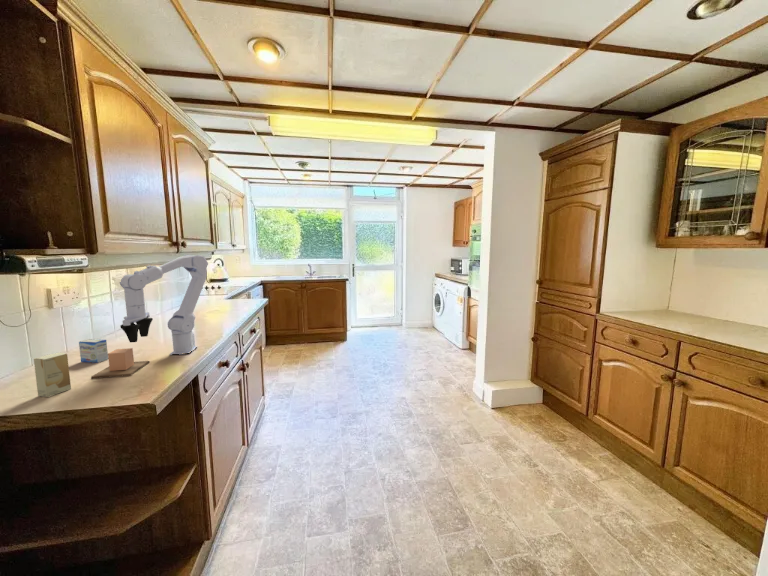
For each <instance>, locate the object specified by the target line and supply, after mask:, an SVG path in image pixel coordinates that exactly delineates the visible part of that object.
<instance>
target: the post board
mask: <svg viewBox="0 0 768 576" xmlns="http://www.w3.org/2000/svg"><path fill="white" fill-rule="evenodd" d="M149 364H150V360H142V361H140V360H139V361H134V365H133V366H131V367H130V368H128V369H127V370H116V371H110V368H109V366H107V367H105V368H104V369H102V370H100V371H99V372H97V373H95V374H93V375H91V376H90V378H91V379H92V380H93V379H105V378H117V377H119V378H121V377H129V376H130V377H131V376H132V375H135V373H137V372H138V371H139V370H141V369H143V368H144V367H146V366H147V365H149Z"/></svg>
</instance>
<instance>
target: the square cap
mask: <svg viewBox="0 0 768 576" xmlns="http://www.w3.org/2000/svg"><path fill="white" fill-rule="evenodd" d="M134 358H135V357H134V349H133V347H130V348H116V349H114V350H113V351H110V352H108V359H107V360H108V367H109V368H110V371H116V370H127V369H128V368H130V367H131V366H133V365H134V362H135V359H134Z"/></svg>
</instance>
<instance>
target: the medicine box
mask: <svg viewBox="0 0 768 576" xmlns="http://www.w3.org/2000/svg"><path fill="white" fill-rule="evenodd" d="M78 347H79V354H80V355H79V357H80V362H81V363H90V362H92V363H94V364H95V363H96V364H98V363H101V362H106V361H107V360H109V359H108V353H109V352H108V343H107V339H101V338H100V339H98V338H97V339H95V338H94V339H93V338H87V339H84V340H80V341H78ZM92 363H91V364H92Z"/></svg>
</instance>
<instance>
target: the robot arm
mask: <svg viewBox="0 0 768 576" xmlns="http://www.w3.org/2000/svg"><path fill="white" fill-rule="evenodd" d="M208 265H209V262H208V261H207V259H206V257H205V256H204V255H202V254H195V255H193V254H184V255H183V256H178V257H177V258H174V259H172V260H170V261H168V262H165V263H163V264H162V265H159V266H156V265H150V264H149V265H147V266H146V268H144V269H140V270H135V271H133V272H134V273H133V274H131V273H129V274H124V275H123V276H122V277H121V280H120V281H119V285H120V287H121V288H123V291H124V292H123V293H124V301H125V302H124V303H125V309H126V316H124V317H123V319H122V324H120V329H122V331H123V332H124V333H125V335H126V336H127V340H128V341H129V343H137V342H138V338H139V335H140V338H141V337H142V338H145V337H148V336H149V332H150V331H149V330H150V326H151V324H152V322H153V318H152V317H150V315H151V314H150V312H147V311H146V303H145V302H146V301H145V295H144V294H145V293H144V289H145V287H146V286H147V285H148V284H151V283H154V282H156V281H158V280H160V279H162V278H163V275H164V274H166V273H169V272H171V271H172V272H173V271H174V270H177V269H179V268H181V267H182V268H184V269H185V271H187V272H188V273H189V274H190V276H191V279H190V281H189V284H188V286H187V288H186V291H185V294H184V296H183V298H182V301H181V304H180V305H179V308H178V310H176V311H175V312H174V313H173V315H172V316H171V317H170V318H169V320H168V321H167V328H168V329H169V330H170V331H171V337H172V341H171V342H172V349H173V350H172V351H171V352H170V353H169V356H173V355H172V354H179V355H183V354H182V353H189V352H190V351H192V350H194V349H195V348H196V347H197V348H198V345H196V340H195V339H196V338H195V333H194V332H193V330H194V328H195V320H196V316H195V315H194V310H195V308H196V307H197V303H198V300H199V298H200V296H201V293H202V291H203V288H204V285H205V283H206V280H207V277H208V276H207V268H208ZM138 334H139V335H138ZM197 348H196V349H197ZM196 349H195V350H196ZM195 350H194V351H195ZM192 352H193V351H192Z"/></svg>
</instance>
